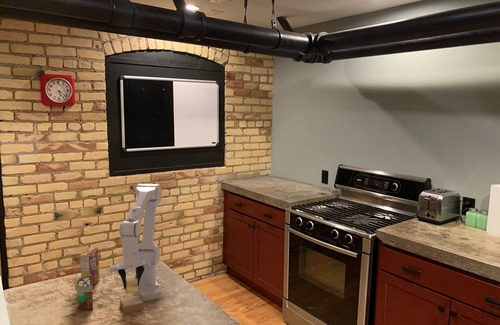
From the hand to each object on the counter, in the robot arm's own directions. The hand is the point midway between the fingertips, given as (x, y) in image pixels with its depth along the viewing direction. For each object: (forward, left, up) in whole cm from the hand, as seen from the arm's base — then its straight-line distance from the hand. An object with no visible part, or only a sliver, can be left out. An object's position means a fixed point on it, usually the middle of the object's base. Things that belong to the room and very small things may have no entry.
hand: (131, 286), depth 144 cm
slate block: (-6, +8, -9) cm, 13 cm away
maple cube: (0, 0, -2) cm, 2 cm away
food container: (-9, -16, -9) cm, 20 cm away
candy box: (-27, -12, -9) cm, 31 cm away
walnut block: (0, 0, -9) cm, 9 cm away
